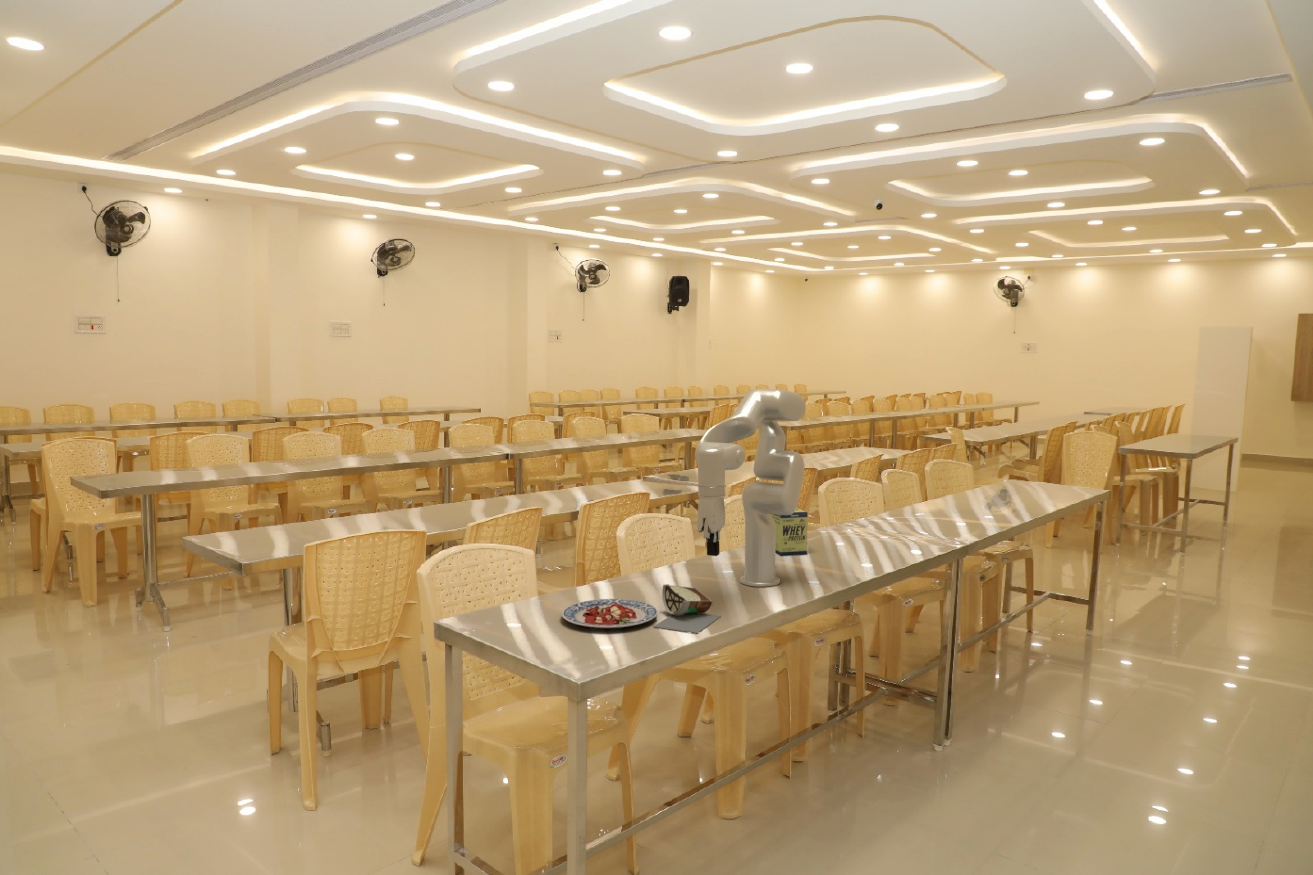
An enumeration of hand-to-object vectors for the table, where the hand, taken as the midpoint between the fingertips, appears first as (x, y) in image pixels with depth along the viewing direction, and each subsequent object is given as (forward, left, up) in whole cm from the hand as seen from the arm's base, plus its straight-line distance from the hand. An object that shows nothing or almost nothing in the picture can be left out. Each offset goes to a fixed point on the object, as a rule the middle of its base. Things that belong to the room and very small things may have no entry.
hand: (713, 554), depth 241 cm
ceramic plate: (+23, -21, -15) cm, 35 cm away
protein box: (-78, -3, -15) cm, 79 cm away
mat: (+17, 0, -15) cm, 23 cm away
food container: (+6, -1, -13) cm, 14 cm away
